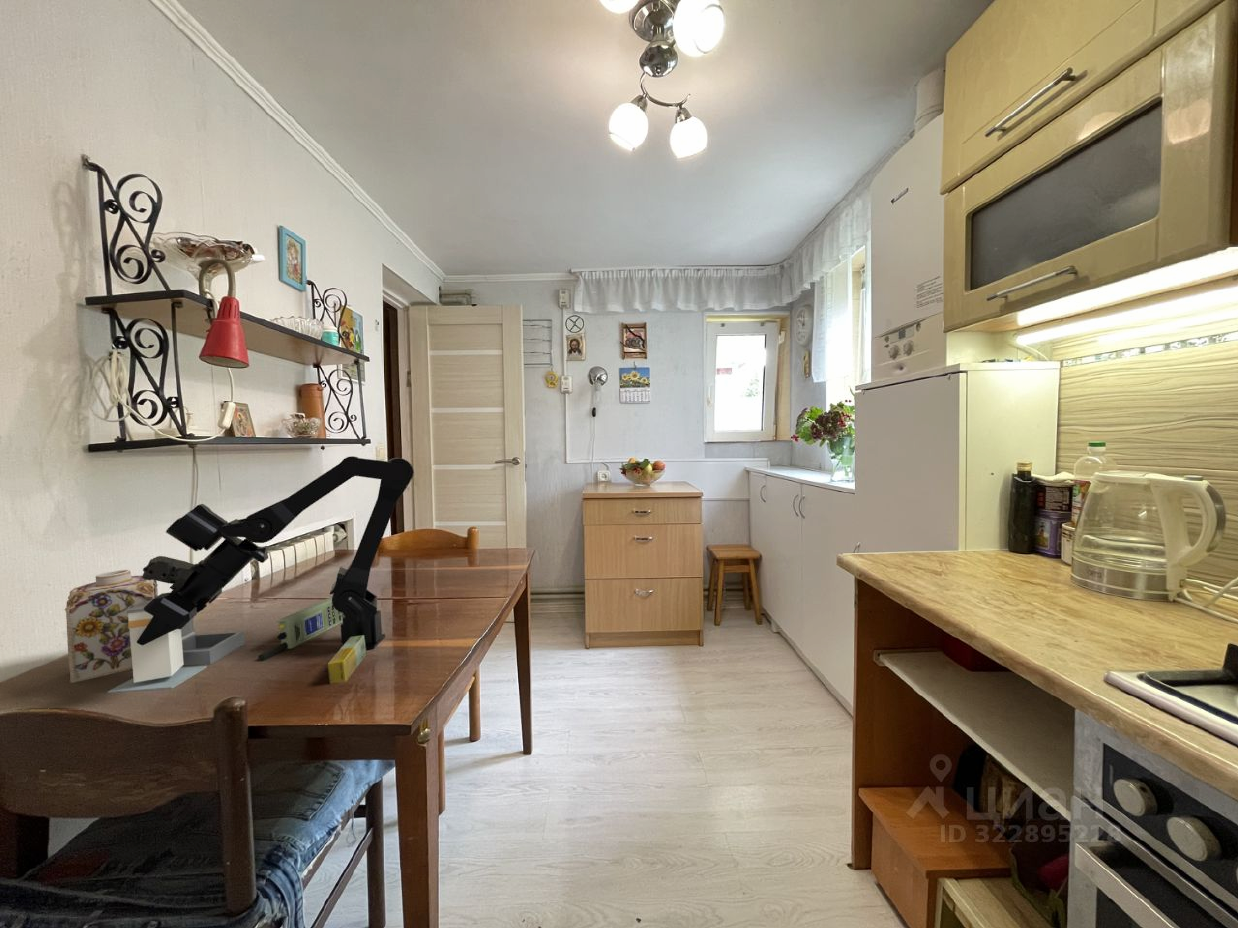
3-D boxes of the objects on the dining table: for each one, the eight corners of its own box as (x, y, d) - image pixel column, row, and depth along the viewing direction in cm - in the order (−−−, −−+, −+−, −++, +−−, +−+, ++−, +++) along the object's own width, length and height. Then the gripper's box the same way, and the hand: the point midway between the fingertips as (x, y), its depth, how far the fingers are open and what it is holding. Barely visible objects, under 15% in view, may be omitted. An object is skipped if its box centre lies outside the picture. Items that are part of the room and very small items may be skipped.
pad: (207, 668, 91) (206, 665, 91) (171, 690, 83) (171, 687, 83) (148, 673, 90) (148, 669, 90) (107, 695, 82) (107, 691, 82)
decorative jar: (160, 664, 93) (153, 571, 92) (69, 686, 85) (60, 585, 85) (163, 646, 102) (156, 561, 101) (81, 664, 94) (73, 572, 94)
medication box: (352, 655, 95) (350, 635, 95) (367, 653, 96) (365, 633, 95) (328, 685, 83) (326, 662, 83) (346, 683, 84) (344, 660, 84)
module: (184, 664, 90) (179, 596, 89) (172, 676, 85) (166, 605, 84) (147, 670, 87) (142, 601, 87) (132, 682, 83) (126, 610, 82)
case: (244, 645, 101) (240, 583, 101) (210, 666, 92) (205, 597, 91) (191, 648, 100) (186, 586, 100) (150, 670, 91) (145, 601, 90)
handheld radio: (357, 617, 117) (269, 664, 92) (345, 617, 117) (254, 664, 93) (355, 589, 117) (266, 629, 92) (342, 590, 117) (250, 630, 92)
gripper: (196, 531, 95) (126, 597, 91) (156, 549, 78) (66, 630, 74) (249, 565, 99) (183, 630, 95) (221, 589, 82) (139, 669, 78)
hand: (146, 638), depth 85 cm, fingers closed on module, 5 cm apart
